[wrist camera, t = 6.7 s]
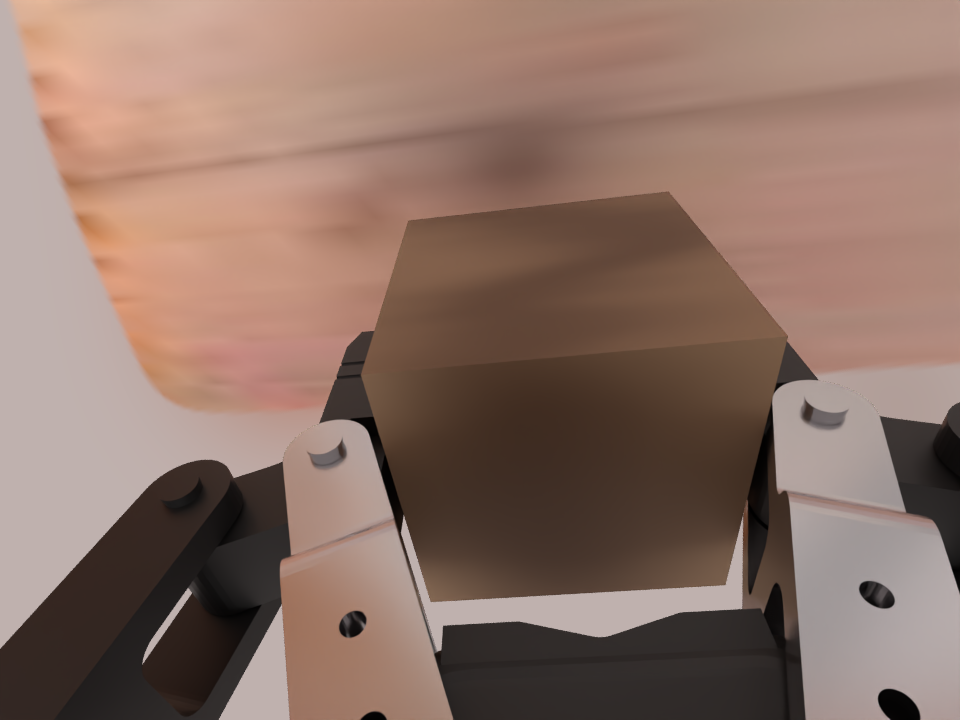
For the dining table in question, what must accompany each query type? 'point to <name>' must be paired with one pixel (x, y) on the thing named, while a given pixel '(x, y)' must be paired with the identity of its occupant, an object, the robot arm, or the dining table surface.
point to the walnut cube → (570, 398)
